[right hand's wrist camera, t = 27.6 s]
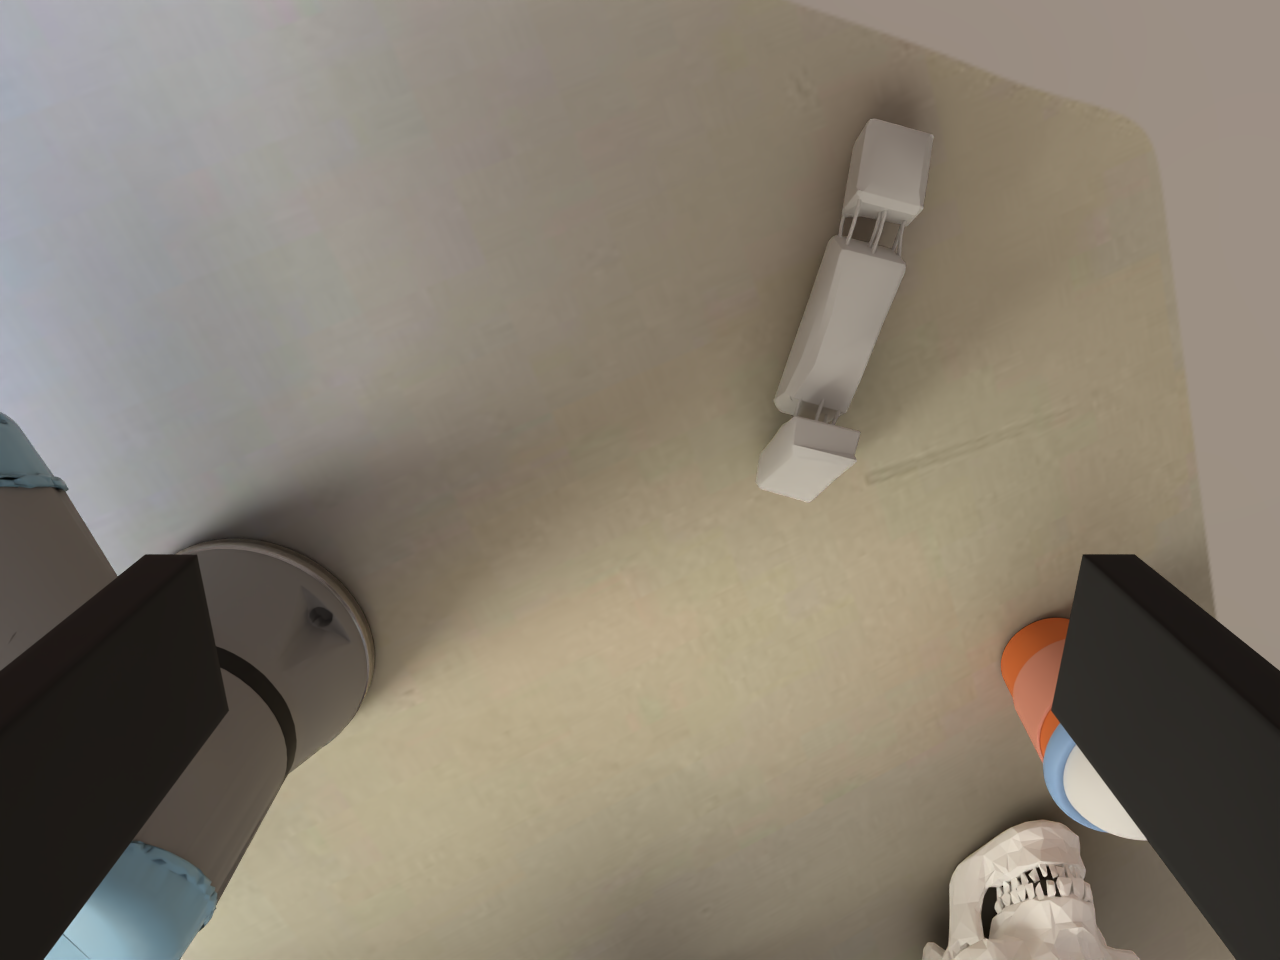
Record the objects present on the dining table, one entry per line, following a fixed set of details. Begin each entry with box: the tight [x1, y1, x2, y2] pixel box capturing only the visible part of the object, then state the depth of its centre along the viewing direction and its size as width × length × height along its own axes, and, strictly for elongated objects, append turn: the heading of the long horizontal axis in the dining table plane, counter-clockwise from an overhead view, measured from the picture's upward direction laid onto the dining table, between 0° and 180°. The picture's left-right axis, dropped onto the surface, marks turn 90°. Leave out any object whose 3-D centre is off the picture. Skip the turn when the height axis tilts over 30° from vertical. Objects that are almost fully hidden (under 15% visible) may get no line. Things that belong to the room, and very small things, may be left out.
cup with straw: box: [1001, 618, 1147, 840], centre depth 46 cm, size 9×9×18 cm
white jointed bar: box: [756, 119, 934, 503], centre depth 44 cm, size 20×4×7 cm, turn 166°
